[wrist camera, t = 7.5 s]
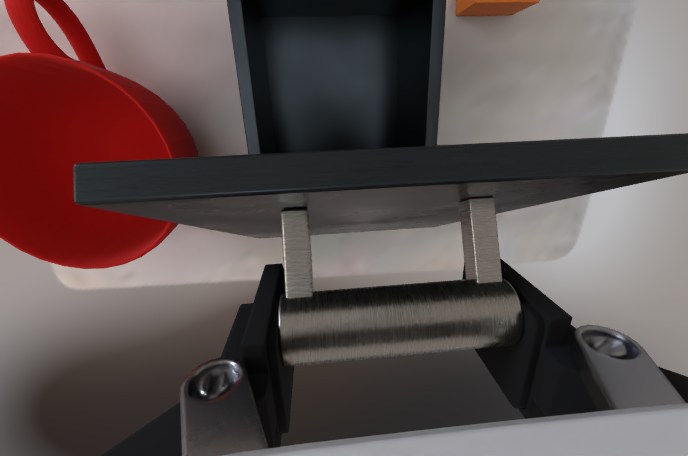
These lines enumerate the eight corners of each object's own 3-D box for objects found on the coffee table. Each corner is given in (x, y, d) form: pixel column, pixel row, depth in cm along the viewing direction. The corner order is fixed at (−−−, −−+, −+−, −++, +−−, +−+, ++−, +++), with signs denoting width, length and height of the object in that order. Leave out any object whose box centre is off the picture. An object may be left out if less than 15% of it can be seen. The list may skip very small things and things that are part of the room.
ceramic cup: (192, 10, 25) (118, -50, 16) (235, 213, 31) (201, 259, 22) (19, 22, 24) (-166, -33, 15) (98, 228, 30) (2, 280, 21)
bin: (251, 8, 25) (220, -41, 17) (406, 5, 26) (449, -42, 18) (273, 198, 31) (259, 230, 22) (401, 190, 32) (432, 219, 23)
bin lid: (70, 161, 6) (73, 434, 5) (704, 131, 7) (739, 365, 6) (257, 227, 22) (261, 296, 22) (433, 216, 23) (439, 282, 23)
